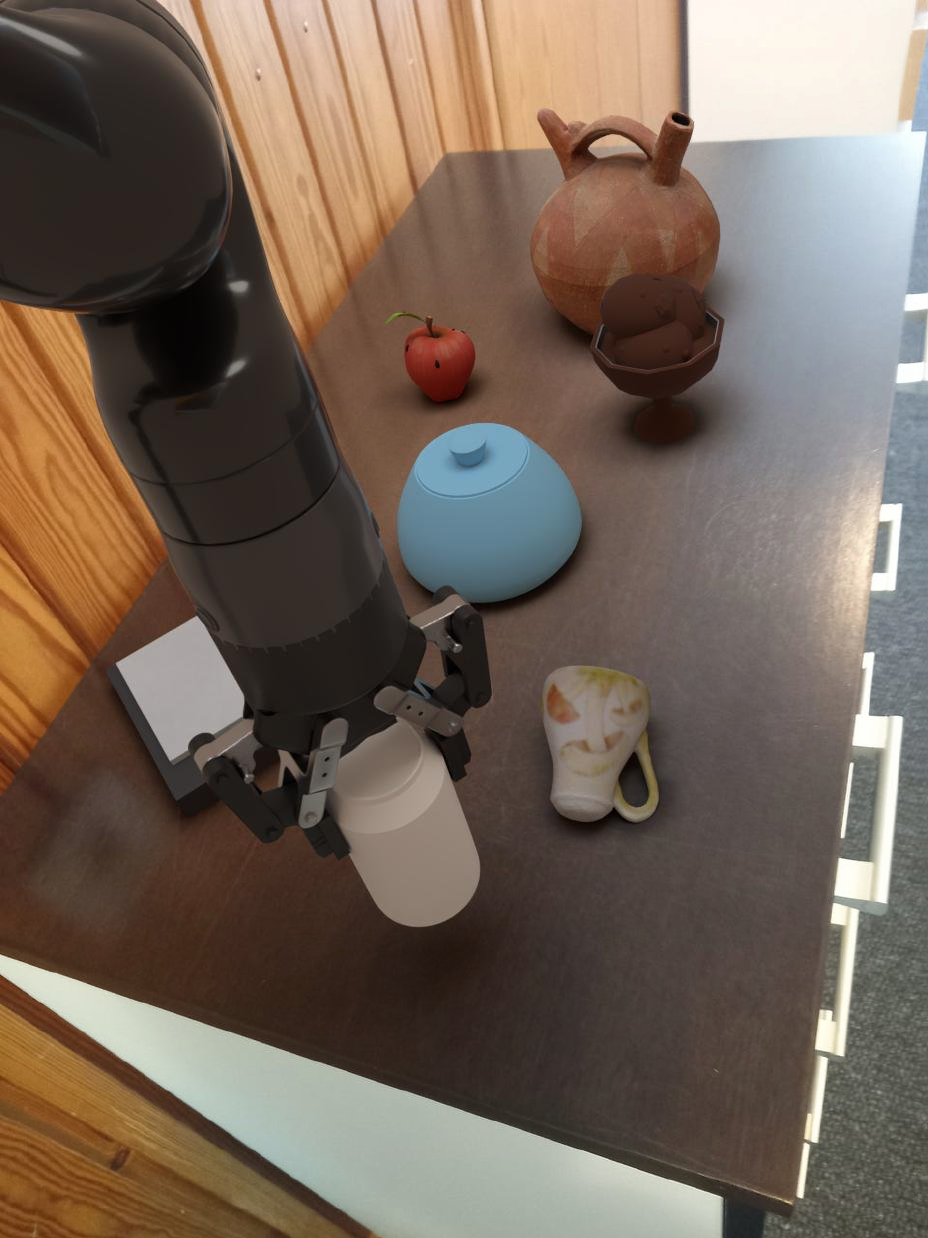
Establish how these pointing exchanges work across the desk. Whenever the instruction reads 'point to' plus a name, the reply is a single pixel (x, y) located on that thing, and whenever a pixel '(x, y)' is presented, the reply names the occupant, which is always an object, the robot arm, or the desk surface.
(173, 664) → the scale
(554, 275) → the jug
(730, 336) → the desk surface
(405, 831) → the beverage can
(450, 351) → the apple
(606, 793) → the mug
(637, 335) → the ice cream bowl
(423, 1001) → the desk surface
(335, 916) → the desk surface
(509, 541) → the sugar bowl
